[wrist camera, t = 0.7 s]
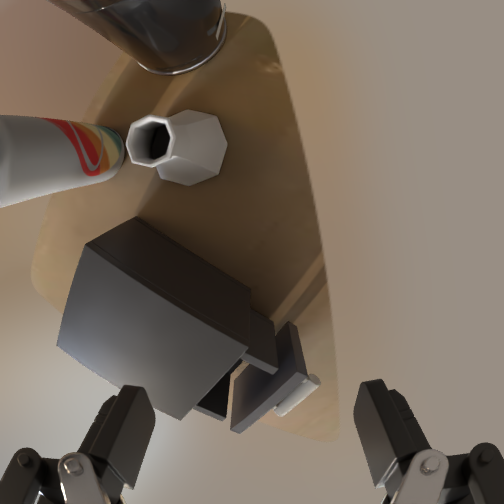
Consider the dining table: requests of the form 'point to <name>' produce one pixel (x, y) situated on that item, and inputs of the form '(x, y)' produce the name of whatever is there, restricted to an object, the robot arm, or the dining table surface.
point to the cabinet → (154, 317)
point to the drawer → (262, 377)
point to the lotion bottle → (53, 156)
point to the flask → (179, 145)
